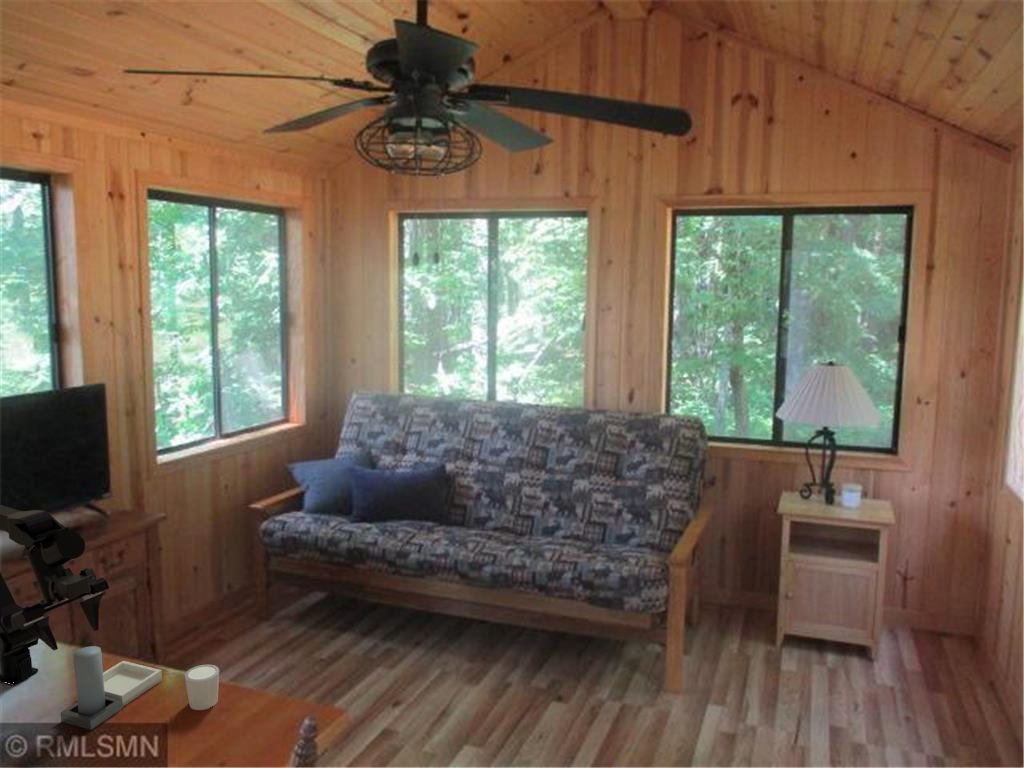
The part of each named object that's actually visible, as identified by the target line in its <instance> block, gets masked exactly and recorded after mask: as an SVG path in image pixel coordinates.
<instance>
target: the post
mask: <svg viewBox="0 0 1024 768" xmlns="http://www.w3.org/2000/svg"><path fill="white" fill-rule="evenodd" d="M72 657H73V667H74V677H75V688H76V689H75V690H76V700H77V701H76V702H77V703H78V714H81V715H85V716H88V717H92V716H93V715H95V714H96V713H98V712H99V711H101V710H102V709H104V708H106V705H105V692H104V680H103V673H104V670H103V659H102V657H103V655H102V649H101V647H100V646H96V645H95V646H92V645H91V646H86V647H82V648H80V649H78V650H76V651H74V653H73V655H72Z"/></svg>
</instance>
